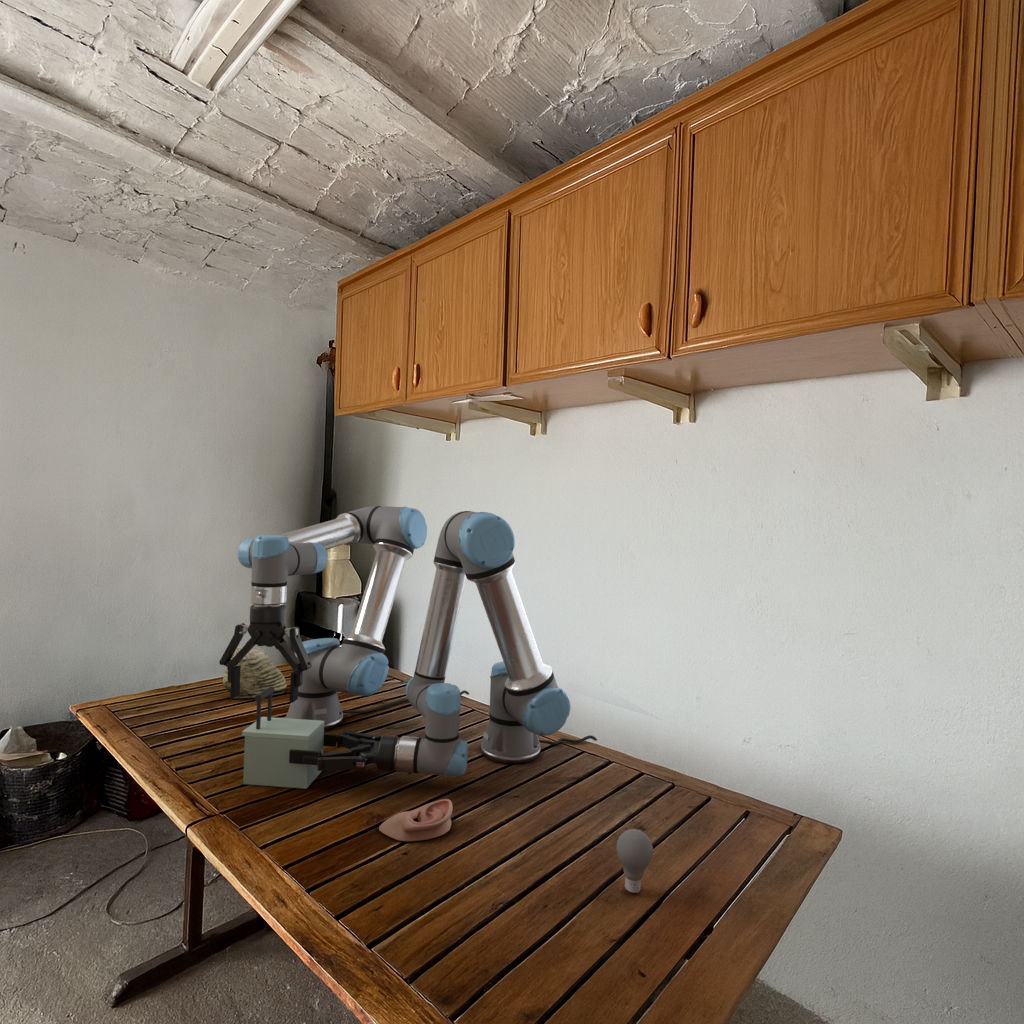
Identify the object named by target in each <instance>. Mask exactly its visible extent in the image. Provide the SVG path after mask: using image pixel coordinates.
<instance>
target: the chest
mask: <svg viewBox="0 0 1024 1024" xmlns="http://www.w3.org/2000/svg"><path fill="white" fill-rule="evenodd" d="M324 733H325V731H324V726H323V727H322V728H321V729H320V730H319V731H318V732H317V733H316V734H315V735H314V736H313V737H312V738H310V739H309V740H308V741H307V740H292V739H278V738H263V737H248V736H244V753H243V778H242V779H243V781H242V784H243V785H251V786H266V787H278V788H292V789H308V788H309V787H310V785H311V784H312V783H313V782H314V781H315V780H316V779H317V778H318V776H319V775H320V774H321V773H322V771H318V765H308V764H294V763H289V752H290V750H291V749H292V750H306V751H320V750H321V752H322V754H323V753H324V747H325V746H324Z"/></svg>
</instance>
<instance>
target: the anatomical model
mask: <svg viewBox="0 0 1024 1024" xmlns="http://www.w3.org/2000/svg"><path fill="white" fill-rule="evenodd" d="M453 807H454V806H453V802H452V801H451V800H450V799H449V798H443V799H439V800H434V801H432V802H429V803H426V804H424V805H422V806H419V807H417V808H415V809H412V810H409V811H407V810H406V811H401V812H399V813H396V814H394V815H392V816H390V817H388V818H387V819H386V820H385V821H383V822H382V823H381V824H380V825H379V827H378V830H379V832H380V833H382V834H383V835H385V836H387V837H388V838H391V839H394V840H396V841H399V842H417V841H425V840H431V839H434V838H438V837H440V836H443V835H446V834H447V833H448V832H449V831H450V829H451V828H452V818H451V817H452V814H453Z"/></svg>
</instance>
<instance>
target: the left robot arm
mask: <svg viewBox="0 0 1024 1024" xmlns="http://www.w3.org/2000/svg"><path fill="white" fill-rule="evenodd" d="M427 536H428V525H427V522H426V519H425V516H424V514H423V513H422V512H421V511H420V510H418V508H414V507H408V506H389V505H387V506H385V505H370V506H365V507H361V508H357V509H354V510H351V511H347V512H344V513H340V514H338V516H337V517H336V518H334V519H331V520H328V521H327V520H326V521H323V522H320V523H316V524H313V525H310V526H305V527H301V528H299V529H295V530H291V531H287V532H284V533H281V534H277V535H275V534H262V535H261V534H260V535H256V537H254V538H247V539H245V540H244V541H242V542H241V543H240V545H239V547H238V550H237V559H238V562H239V564H241V566H243V567H244V568H247V569H251V582H250V584H251V585H250V601H249V602H250V603H251V604H252V605H251V606H249V625H247V624H245V622H242V623H239V624H236V625H235V626H234V633H233V636H232V637H231V639H230V641H229V643H228V645H227V647H226V648H225V651H224V652H223V654H222V656H221V658H220V659H219V662H218V664H219V665H221V666H224V667H225V668H226V667H227V668H228V678H227V680H228V682H231V692H229V698H230V699H236V698H235V697H237V696H238V695H240V671H241V666H237V667H236V665H238V663H239V662H240V661H241V660H242V659H243V658H244V657H245V656H246V654H247V653H248V652H249V651H250V650H251V649H254V647H255V646H256V645H257V647H264V646H265V647H267V648H272V647H274V648H275V649H276V650H277V651H279V653H280V654H281V655H282V657H283V658H284V660H285V661H286V662H287V663H288V665H289V666H290V668H291V669H292V670H293V671H292V672H291V673H290V683H289V708H288V711H287V713H286V715H285V718H289V719H304V720H319V721H324V732H325V731H329V730H332V729H335V728H337V727H339V726H340V725H342V723H343V722H344V714H366V713H371V712H375V711H378V710H380V709H383V708H384V709H385V708H388V707H390V706H393V705H397V704H400V703H401V704H402V703H407V702H409V700H408V698H403V699H398V700H394V701H391V702H388V703H385V704H384V703H383V704H380V705H378V706H375V707H371V708H367V709H359V710H357V709H356V710H355V709H346V710H345V709H342V706H341V702H340V699H339V695H338V692H340V693H344V694H348V695H352V696H355V697H358V696H359V697H360V696H361V697H370V696H372V695H374V694H376V692H378V691H379V690H380V689H381V688H382V687H383V685H384V684H385V682H386V679H387V677H388V674H389V669H390V666H389V659H388V657H387V656H386V655H385V652H386V648H385V645H384V644H383V639H384V635H385V633H386V629H387V626H388V622H389V619H390V615H391V611H392V608H393V605H394V601H395V599H396V594H397V591H398V587H399V584H400V582H401V577H402V574H403V571H404V568H405V564H406V561H408V560H410V559H412V558H413V556H414V552H415V550H418V549H421V548H422V547H423V546H424V545H425V543H426V540H427ZM357 544H359V545H360V544H362V545H363V544H366V545H373V546H372V548H373V550H374V551H375V556H374V560H373V563H372V565H371V569H370V573H369V575H368V579H367V582H366V584H365V588H364V590H363V595H362V598H361V600H360V604H359V608H358V610H357V614H356V617H355V620H354V624H353V626H352V630H351V633H350V634H349V635H347V636H346V637H344V638H343V641H342V643H340V640H339V639H338V638H335V637H322V638H313V639H308V640H304V641H302V638H301V635H300V627H299V626H293V627H286V615H287V614H286V612H287V606H286V603H287V592H288V590H287V587H288V577H291V576H300V575H301V576H302V575H314V574H317V573H321V572H322V571H323V570H324V569H325V568H326V567H327V564H328V559H329V558H328V551H327V550H331V549H333V548H336V547H340V546H342V545H344V546H350V547H351V546H354V545H357ZM247 633H248V634H249V636H250V638H249V639H248V640H247V641H246V642H245V644H244V645H243V646H242V647H243V648H242V649H241V650H240V651H239V652H238V653H237V654H236V655H235V657H234V658H233V659H232V660H231V658H232V656H233V654H234V652H235V650H236V649H237V648H238V647H239V645H240V643H241V641H242V640H243V637H244V635H246V634H247ZM285 635H287V637H288V638H289V640H290V644H291V645H292V648H293V650H294V651H293V650H292V648H290V646H289V645H288V641H287V640H286V639H285V638H284V636H285ZM340 644H341V645H340ZM463 694H466V695H467V696H468V695H470V692H469V691H467V690H462V691H460V697H461V696H462V695H463Z"/></svg>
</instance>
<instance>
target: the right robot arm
mask: <svg viewBox="0 0 1024 1024" xmlns="http://www.w3.org/2000/svg"><path fill="white" fill-rule="evenodd" d="M515 547H516V539H515V533H514V531H513V529H512V527H511V525H510V524H509V523H508V522H507V521H506V520H505V519H504V518H502V517H501V516H499V515H496V514H494V513H492V512H487V511H472V510H462V511H458V512H456V513H454V514H452V515H451V516H450V517H448V519H447V520H446V521H445V522H444V524H443V525H442V527H441V530H440V532H439V536H438V538H437V543H436V548H435V552H434V556H433V557H434V558H433V565H434V566H435V568H436V569H435V574H434V578H433V583H432V587H431V592H430V597H429V602H428V605H427V606H428V607H427V610H426V611H427V612H426V616H425V621H424V626H423V630H422V636H421V639H420V646H419V648H418V649H419V650H418V655H417V659H416V664H415V668H414V673H413V676H412V677H411V678H409V680H408V681H407V683H406V685H405V696H406V699H408V700H409V701H408V702H409V704H410V706H411V707H413V708H414V709H415V710H416V711H417V712H418V713H419V714H420V715H421V716H422V718H423V719H424V737H419V736H409V735H408V736H407V735H402V736H401V737H399V736H398V735H391V734H390V735H389V734H384V735H380V734H378V735H377V734H368V733H362V732H358V731H357V732H356V731H352V730H347V729H345V730H342V732H339V733H327V732H324V746H323V747H333V748H335V747H336V748H337V749H340V748H345V749H347V750H340V751H332V752H331V751H330V752H323V754H322V752H321V750H320V751H306V750H292V749H291V750H290V752H289V763H294V764H308V765H318V771H321V772H329V771H330V772H331V771H333V772H334V771H363V772H364V771H365V770H366V766H367V765H372V764H374V765H376V769H377V770H378V771H379V772H387V773H394V772H397V773H402V774H407V775H409V776H412V774H414V775H415V774H417V775H419V774H420V775H430V776H440V777H444V778H445V777H462V776H463V775H464V774H466V770H467V768H468V767H467V766H468V759H469V743H468V742H467V741H466V740H463V739H460V717H461V706H462V701H461V696H460V692H461V690H460V687H459V686H457V685H456V684H452V683H449V682H445V681H446V675H447V670H448V667H449V661H450V656H451V651H452V647H453V642H454V637H455V633H456V629H457V624H458V619H459V616H460V615H459V614H460V610H461V604H462V600H463V595H464V590H465V586H466V581H469V582H472V583H474V584H475V585H476V588H477V591H478V594H479V597H480V599H481V602H482V606H483V608H484V611H485V613H486V617H487V620H488V622H489V624H490V627H491V630H492V633H493V637H494V639H495V642H496V645H497V648H498V650H499V653H500V656H501V659H502V661H498V662H495V663H494V664H492V666H491V670H490V671H491V672H490V675H489V678H490V685H489V686H490V687H489V688H490V689H489V714H488V715H489V716H488V717H489V718H488V722H487V725H486V728H485V730H484V733H483V737H482V739H481V742H480V753H481V755H482V756H483V757H485V758H486V759H488V760H490V761H494V762H496V763H502V764H511V765H513V764H514V765H515V764H524V763H529V762H533V761H535V760H537V759H538V758H539V757H540V756H541V744H547V745H551V746H558V745H559V744H560V743H561V742H567V743H571V744H581V743H583V742H585V741H587V740H589V739H591V740H593V741H595V742H596V741H598V738H597V737H595V736H594V735H585V736H584V737H582V738H580V739H579V738H578V739H572V738H571V739H570V738H566V737H561V738H559V739H558V740H557V741H551V740H546V739H539V736H541V737H547V736H551V735H554V734H555V733H557V732H558V731H560V730H561V729H562V728H563V727H564V726H565V724H566V722H567V720H568V718H569V716H570V714H571V708H572V707H571V699H570V697H569V695H568V694H567V693H566V691H565V690H564V689H563V688H562V687H559V685H558V683H557V679H556V677H555V674H554V671H553V668H552V666H551V665H549V664H547V663H544V662H543V659H542V656H541V653H540V650H539V648H538V644H537V642H536V639H535V636H534V633H533V630H532V627H531V624H530V621H529V618H528V615H527V613H526V608H525V606H524V604H523V601H522V597H521V594H520V592H519V588H518V585H517V583H516V580H515V577H514V575H513V574H514V573H513V569H514V567H515V565H516V560H515V557H514V556H515V555H514V554H513V553H514V549H515Z"/></svg>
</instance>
